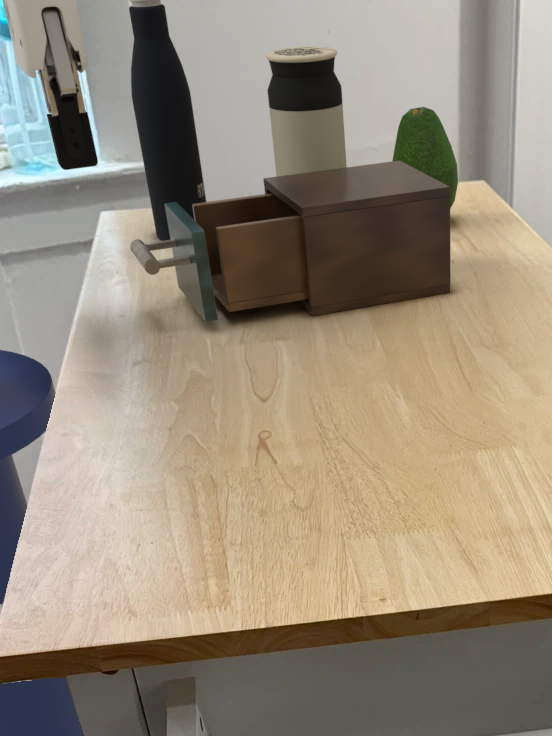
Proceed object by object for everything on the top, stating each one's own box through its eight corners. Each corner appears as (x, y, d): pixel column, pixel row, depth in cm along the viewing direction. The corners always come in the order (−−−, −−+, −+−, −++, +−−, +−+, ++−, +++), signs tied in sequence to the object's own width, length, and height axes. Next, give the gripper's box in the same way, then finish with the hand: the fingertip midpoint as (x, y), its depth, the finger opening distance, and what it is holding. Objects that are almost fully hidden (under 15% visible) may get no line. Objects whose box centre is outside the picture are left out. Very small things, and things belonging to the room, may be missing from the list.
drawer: (160, 329, 93) (143, 239, 88) (136, 293, 101) (119, 209, 96) (341, 299, 98) (335, 212, 93) (305, 267, 106) (297, 185, 101)
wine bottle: (152, 230, 122) (94, -88, 102) (205, 223, 124) (158, -91, 104) (161, 244, 117) (102, -86, 98) (216, 237, 119) (168, -90, 99)
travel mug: (307, 248, 114) (290, 59, 103) (269, 234, 119) (249, 52, 108) (364, 234, 118) (353, 50, 106) (325, 220, 123) (311, 43, 111)
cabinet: (312, 316, 97) (302, 207, 91) (274, 279, 106) (263, 178, 100) (450, 292, 101) (450, 186, 95) (403, 258, 110) (399, 160, 104)
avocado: (389, 216, 123) (384, 102, 116) (452, 212, 124) (452, 98, 116) (396, 234, 117) (392, 115, 110) (463, 229, 118) (464, 111, 110)
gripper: (-41, -104, 80) (25, 155, 92) (-27, -102, 70) (46, 191, 82) (55, -110, 82) (107, 144, 94) (83, -108, 72) (138, 178, 84)
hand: (78, 165), depth 88 cm, fingers closed
